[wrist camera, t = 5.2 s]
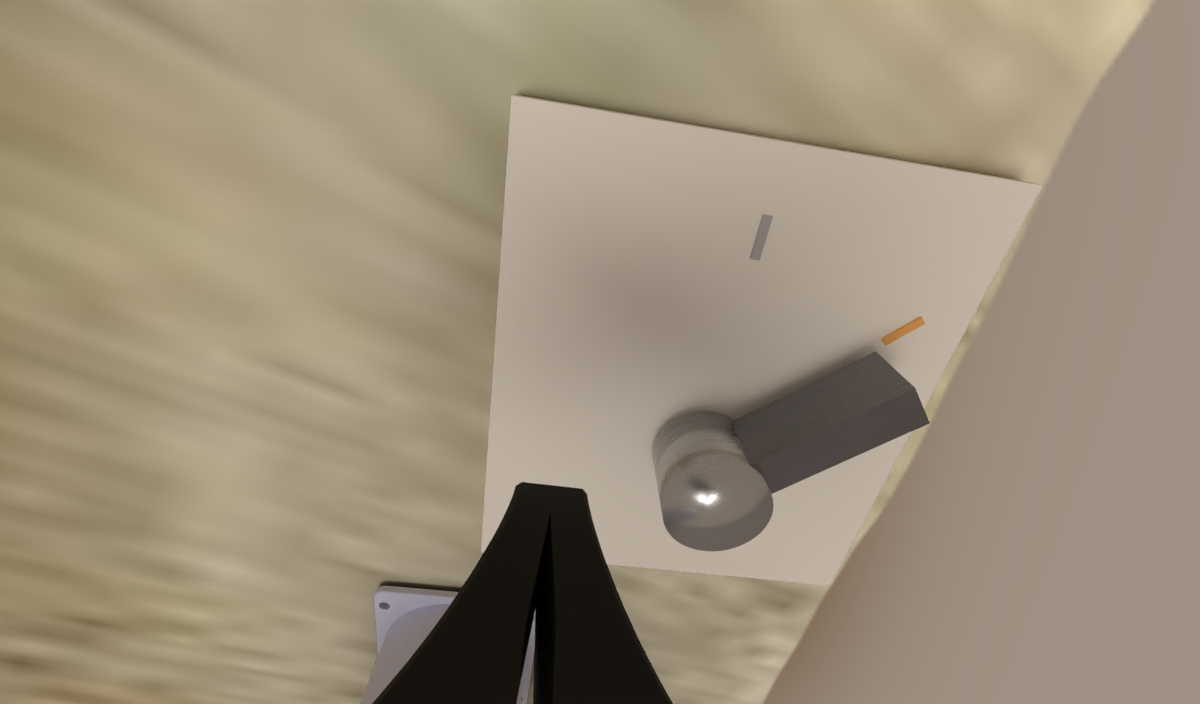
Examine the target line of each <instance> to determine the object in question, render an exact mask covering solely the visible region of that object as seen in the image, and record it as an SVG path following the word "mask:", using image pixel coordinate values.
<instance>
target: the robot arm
mask: <svg viewBox="0 0 1200 704" xmlns="http://www.w3.org/2000/svg"><path fill="white" fill-rule="evenodd" d="M374 609H375V622H376V636H377V650H378V657H377V660H376V662H375V665H374V668H373V670H372V673H371V676H370V678H369V681H368V684H367V686H366V689H365V692H364V694H363V697H362V700H361V702H360V704H526V703H527V697H528V690H529V684H530V677H531V671H532V664H533V658H534V697H533V704H673V703H672V701H671V700H670V698H669V696H668V694H667V693H666V691H665V689H664V687H663V686H662V684H661V682H660V680H659V678H658V676H657V674H656V672H655V671H654V669H653V667H652V665H651V663H650V661H649V659H648V657H647V655H646V653H645V651H644V649H643V647H642V645H641V643H640V641H639V639H638V637H637V635H636V633H635V631H634V629H633V626H632V624H631V622H630V620H629V617H628V615H627V613H626V611H625V609H624V606H623V604H622V602H621V599H620V597H619V594H618V592H617V590H616V587H615V584H614V582H613V579H612V577H611V574H610V571H609V569H608V566H607V563H606V561H605V558H604V555H603V552H602V549H601V546H600V543H599V540H598V537H597V534H596V530H595V527H594V523H593V520H592V516H591V512H590V507H589V503H588V497H587V493H586V492H585V491H584V490H583V489H580V488H571V487H562V486H553V485H545V484H536V483H527V482H521V483H520V484H518V485H516V487H515V490H514V493H513V496H512V499H511V501H510V504H509V506H508V508H507V511H506V513H505V515H504V517H503V519H502V521H501V523H500V525H499V527H498V529H497V530H496V532H495V534H494V536H493V538H492V540H491V541H490V543H489V545H488V546H487V548H486V550H485V552H484V553H483V555H482V557H481V558H480V560H479V562H478V563H477V565H476V567H475V568H474V570H473V572H472V573H471V575H470V576H469V578H468V579H467V581H466V582H465V584H464V585H463V587H462V588H461V589H460V591H459V592H454V591H442V590H431V589H420V588H408V587H397V586H381V587H378V588H377V590H376V592H375V594H374Z"/></svg>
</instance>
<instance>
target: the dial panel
mask: <svg viewBox="0 0 1200 704" xmlns="http://www.w3.org/2000/svg"><path fill="white" fill-rule="evenodd" d="M1042 186H1043V185H1038V184H1034V183H1029V182H1024V181H1020V180H1015V179H1010V178H1004V177H998V176H992V175H986V174H981V173H975V172H969V171H963V170H957V169H951V168H945V167H939V166H934V165H928V164H922V163H916V162H910V161H904V160H898V159H893V158H887V157H881V156H875V155H869V154H863V153H857V152H851V151H846V150H840V149H834V148H828V147H822V146H816V145H810V144H804V143H799V142H793V141H787V140H781V139H775V138H769V137H763V136H757V135H752V134H746V133H740V132H734V131H728V130H722V129H716V128H711V127H705V126H699V125H693V124H687V123H681V122H675V121H669V120H664V119H658V118H652V117H646V116H640V115H634V114H628V113H622V112H617V111H611V110H605V109H599V108H593V107H587V106H581V105H575V104H570V103H564V102H558V101H552V100H546V99H540V98H534V97H528V96H523V95H511V109H510V124H509V139H508V154H507V169H506V184H505V199H504V214H503V229H502V244H501V259H500V274H499V289H498V304H497V318H496V333H495V348H494V363H493V378H492V393H491V408H490V423H489V438H488V453H487V468H486V483H485V498H484V513H483V528H482V542H481V552H482V553H484V552H485V550H486V548H487V546H488V545H489V543H490V541H491V540H492V538H493V536H494V534H495V532H496V530H497V529H498V527H499V525H500V523H501V521H502V519H503V517H504V515H505V513H506V511H507V508H508V506H509V504H510V501H511V499H512V496H513V493H514V490H515V487H516V485H518V484H520V483H521V482H527V483H536V484H545V485H553V486H562V487H571V488H580V489H583V490H584V491H585V492H586V493H587V497H588V503H589V507H590V512H591V516H592V520H593V523H594V527H595V530H596V534H597V537H598V540H599V543H600V546H601V549H602V552H603V555H604V558H605V561H606V563H607V564H608V565H619V566H629V567H640V568H650V569H661V570H671V571H682V572H693V573H703V574H714V575H724V576H735V577H745V578H756V579H766V580H777V581H787V582H798V583H809V584H819V585H831V583H832V581H833V579H834V577H835V576H836V574H837V572H838V570H839V568H840V566H841V564H842V562H843V561H844V559H845V557H846V555H847V553H848V551H849V549H850V547H851V545H852V544H853V542H854V540H855V538H856V536H857V534H858V532H859V530H860V529H861V527H862V525H863V523H864V521H865V519H866V517H867V515H868V514H869V512H870V510H871V508H872V506H873V504H874V502H875V500H876V498H877V497H878V495H879V493H880V491H881V489H882V487H883V485H884V483H885V482H886V480H887V478H888V476H889V474H890V472H891V470H892V468H893V467H894V465H895V463H896V461H897V459H898V457H899V455H900V453H901V451H902V450H903V448H904V446H905V444H906V442H907V440H908V438H909V436H910V435H911V433H912V431H911V432H909V433H907V434H904V435H902V436H900V437H898V438H896V439H893V440H891V441H889V442H887V443H884V444H882V445H880V446H878V447H875V448H873V449H871V450H869V451H867V452H864V453H862V454H860V455H858V456H855V457H853V458H851V459H849V460H846V461H844V462H842V463H840V464H838V465H835V466H833V467H831V468H829V469H826V470H824V471H822V472H820V473H817V474H815V475H813V476H811V477H809V478H806V479H804V480H802V481H800V482H797V483H795V484H793V485H791V486H788V487H786V488H784V489H782V490H780V491H777V492H775V493H773V494H772V498H773V504H774V506H773V513H772V516H771V519H770V521H769V523H768V524H767V526H766V527H765V528H764V530H763V531H762V532H761V533H760V534H759V535H757V536H756V537H755V538H754V539H752V540H750V541H749V542H747V543H745V544H743V545H741V546H738V547H736V548H732V549H728V550H723V551H700V550H695V549H692V548H689V547H686V546H684V545H682V544H680V543H679V542H677V541H676V540H675V539H673V538H672V536H671V535H670V534H669V533H668V531H667V530H666V528H665V525H664V522H663V517H662V511H661V505H660V499H659V493H658V487H657V481H656V475H655V468H654V462H653V456H652V450H653V444H654V441H655V439H656V437H657V435H658V433H659V432H660V431H661V430H662V428H663V427H664V426H665V425H666V424H668V423H669V422H670V421H672V420H674V419H675V418H677V417H679V416H681V415H684V414H687V413H691V412H696V411H712V412H717V413H721V414H724V415H726V416H728V417H730V418H732V419H733V420H734V421H735V420H737V419H739V418H741V417H743V416H745V415H747V414H749V413H751V412H753V411H755V410H757V409H759V408H761V407H763V406H765V405H767V404H769V403H771V402H773V401H775V400H777V399H779V398H781V397H784V396H786V395H788V394H790V393H792V392H794V391H796V390H798V389H800V388H802V387H804V386H806V385H808V384H810V383H812V382H814V381H816V380H818V379H820V378H822V377H824V376H826V375H828V374H830V373H832V372H834V371H836V370H838V369H840V368H842V367H844V366H846V365H848V364H850V363H852V362H854V361H856V360H858V359H860V358H862V357H865V356H867V355H869V354H871V353H873V352H875V351H876V352H877V353H878V354H879V355H880V356H881V357H883V358H884V359H885V360H886V361H887V362H888V363H889V364H890V365H891V366H892V367H893V368H894V369H895V370H896V371H898V372H899V373H900V374H901V375H902V376H903V377H904V378H905V379H906V380H907V381H908V382H909V383H910V384H912V385H913V386H914V387H915V388H916V391H917V393H918V396H919V398H920V401H921V403H922V406H923V408H925V406H926V405H927V403H928V401H929V399H930V397H931V395H932V393H933V391H934V389H935V388H936V386H937V384H938V382H939V380H940V378H941V376H942V374H943V373H944V371H945V369H946V367H947V365H948V363H949V361H950V359H951V358H952V356H953V354H954V352H955V350H956V348H957V346H958V344H959V342H960V341H961V339H962V337H963V335H964V333H965V331H966V329H967V327H968V326H969V324H970V322H971V320H972V318H973V316H974V314H975V312H976V311H977V309H978V307H979V305H980V303H981V301H982V299H983V297H984V295H985V294H986V292H987V290H988V288H989V286H990V284H991V282H992V280H993V279H994V277H995V275H996V273H997V271H998V269H999V267H1000V265H1001V264H1002V262H1003V260H1004V258H1005V256H1006V254H1007V252H1008V250H1009V249H1010V247H1011V245H1012V243H1013V241H1014V239H1015V237H1016V235H1017V233H1018V232H1019V230H1020V228H1021V226H1022V224H1023V222H1024V220H1025V218H1026V217H1027V215H1028V213H1029V211H1030V209H1031V207H1032V205H1033V203H1034V202H1035V200H1036V198H1037V196H1038V194H1039V192H1040V190H1041V188H1042Z"/></svg>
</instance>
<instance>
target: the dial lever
mask: <svg viewBox="0 0 1200 704" xmlns="http://www.w3.org/2000/svg"><path fill="white" fill-rule="evenodd" d="M927 424H929V421H928V418H927V416H926V413H925V411H924V408H923V406H922V403H921V401H920V398H919V396H918V393H917V391H916V388H915V387H914V386H913V385H912V384H910V383H909V382H908V381H907V380H906V379H905V378H904V377H903V376H902V375H901V374H900V373H899V372H898V371H896V370H895V369H894V368H893V367H892V366H891V365H890V364H889V363H888V362H887V361H886V360H885V359H884V358H883V357H881V356H880V355H879V354H878V353H877V352H876V351H875V352H873V353H871V354H869V355H867V356H865V357H862V358H860V359H858V360H856V361H854V362H852V363H850V364H848V365H846V366H844V367H842V368H840V369H838V370H836V371H834V372H832V373H830V374H828V375H826V376H824V377H822V378H820V379H818V380H816V381H814V382H812V383H810V384H808V385H806V386H804V387H802V388H800V389H798V390H796V391H794V392H792V393H790V394H788V395H786V396H784V397H781V398H779V399H777V400H775V401H773V402H771V403H769V404H767V405H765V406H763V407H761V408H759V409H757V410H755V411H753V412H751V413H749V414H747V415H745V416H743V417H741V418H739V419H737V420H735V421H734V420H733V419H732V418H730V417H728V416H726V415H724V414H721V413H717V412H712V411H696V412H691V413H687V414H684V415H681V416H679V417H677V418H675V419H674V420H672V421H670V422H669V423H668V424H666V425H665V426H664V427H663V428H662V430H661V431H660V432H659V433H658V435H657V437H656V439H655V441H654V444H653V450H652V456H653V462H654V468H655V475H656V481H657V487H658V493H659V499H660V505H661V511H662V517H663V522H664V525H665V528H666V530H667V531H668V533H669V534H670V535H671V536H672V538H673V539H675V540H676V541H677V542H679V543H680V544H682V545H684V546H686V547H689V548H692V549H695V550H700V551H723V550H728V549H732V548H736V547H738V546H741V545H743V544H745V543H747V542H749V541H750V540H752V539H754V538H755V537H756V536H757V535H759V534H760V533H761V532H762V531H763V530H764V528H765V527H766V526H767V524H768V523H769V521H770V519H771V516H772V513H773V506H774V504H773V498H772V494H773V493H775V492H777V491H780V490H782V489H784V488H786V487H788V486H791V485H793V484H795V483H797V482H800V481H802V480H804V479H806V478H809V477H811V476H813V475H815V474H817V473H820V472H822V471H824V470H826V469H829V468H831V467H833V466H835V465H838V464H840V463H842V462H844V461H846V460H849V459H851V458H853V457H855V456H858V455H860V454H862V453H864V452H867V451H869V450H871V449H873V448H875V447H878V446H880V445H882V444H884V443H887V442H889V441H891V440H893V439H896V438H898V437H900V436H902V435H904V434H907V433H909V432H911V431H913V430H916V429H918V428H920V427H922V426H925V425H927Z"/></svg>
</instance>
